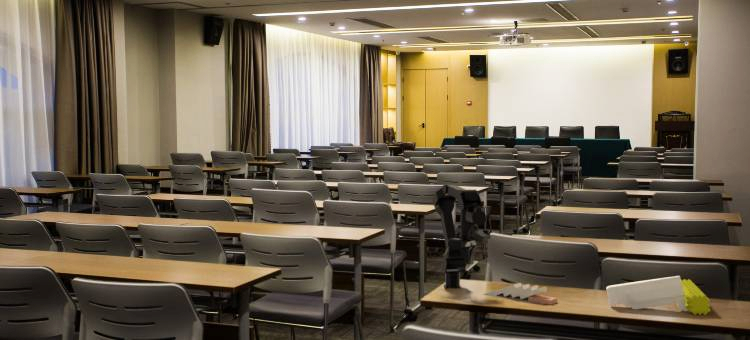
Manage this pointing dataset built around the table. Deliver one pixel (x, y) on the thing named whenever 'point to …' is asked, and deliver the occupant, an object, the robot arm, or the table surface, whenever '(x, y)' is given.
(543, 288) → the tile
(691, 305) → the decorative object
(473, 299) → the table surface
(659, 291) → the shelf bracket
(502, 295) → the grey serrated plate
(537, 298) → the tile end
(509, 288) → the tile
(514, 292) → the tile
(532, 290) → the tile
